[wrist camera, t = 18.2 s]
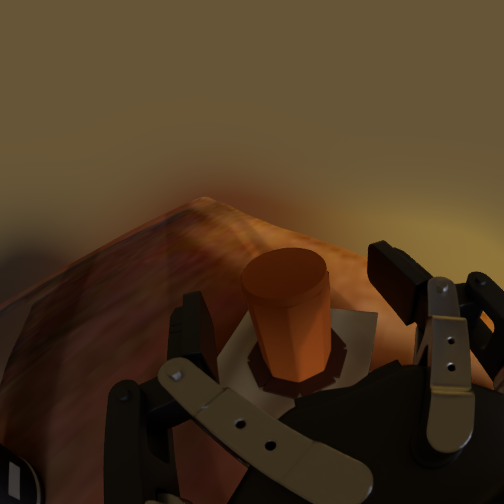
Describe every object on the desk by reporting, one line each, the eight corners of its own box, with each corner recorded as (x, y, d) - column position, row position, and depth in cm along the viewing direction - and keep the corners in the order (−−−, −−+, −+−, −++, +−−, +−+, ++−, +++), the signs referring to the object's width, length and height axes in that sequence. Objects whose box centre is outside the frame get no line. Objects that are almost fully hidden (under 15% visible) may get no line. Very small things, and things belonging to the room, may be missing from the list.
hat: (234, 382, 20) (197, 302, 16) (271, 317, 26) (253, 236, 22) (330, 406, 17) (332, 325, 12) (353, 328, 23) (355, 240, 18)
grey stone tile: (200, 409, 21) (190, 396, 20) (259, 314, 31) (255, 298, 29) (346, 451, 15) (350, 442, 14) (375, 329, 25) (378, 312, 23)
